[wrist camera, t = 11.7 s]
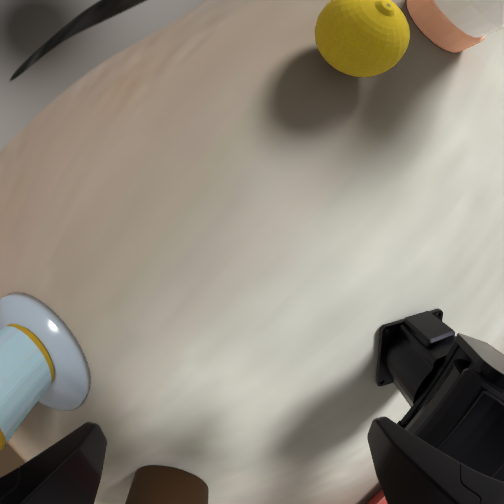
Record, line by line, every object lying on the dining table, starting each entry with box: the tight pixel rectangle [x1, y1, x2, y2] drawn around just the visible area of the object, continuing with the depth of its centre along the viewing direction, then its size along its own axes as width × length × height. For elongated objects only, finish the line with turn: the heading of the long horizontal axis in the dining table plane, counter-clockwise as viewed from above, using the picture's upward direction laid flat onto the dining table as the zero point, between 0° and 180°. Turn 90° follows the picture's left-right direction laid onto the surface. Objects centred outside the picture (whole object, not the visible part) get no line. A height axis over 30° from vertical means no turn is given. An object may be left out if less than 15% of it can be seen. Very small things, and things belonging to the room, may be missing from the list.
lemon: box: [315, 0, 410, 77], centre depth 12 cm, size 6×6×8 cm
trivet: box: [0, 293, 90, 411], centre depth 20 cm, size 13×13×1 cm
